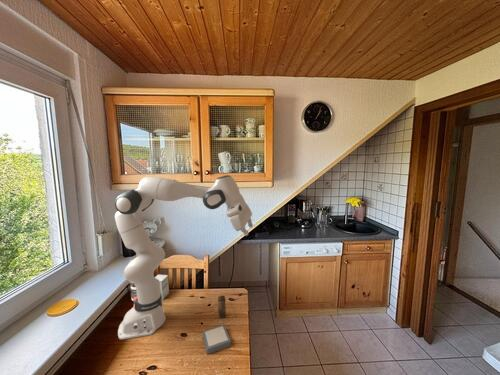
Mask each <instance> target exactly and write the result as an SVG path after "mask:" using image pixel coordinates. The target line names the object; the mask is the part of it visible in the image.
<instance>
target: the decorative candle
mask: <svg viewBox="0 0 500 375" xmlns="http://www.w3.org/2000/svg"><path fill="white" fill-rule="evenodd" d="M133 259H134V258H132V259H130V261H128V264H129V263H130V262H131V261H132V260H133ZM128 264H127V265H128ZM129 283H130V298H131V299H130V300H131V301H133V299H134V297H137V290H136V286H135V284H134V283H131V282H129Z"/></svg>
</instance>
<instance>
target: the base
mask: <svg viewBox="0 0 500 375" xmlns="http://www.w3.org/2000/svg"><path fill="white" fill-rule="evenodd" d="M201 333H202V339H203V343H204V347H205V351H206V355H211V354H213V353H215V352H219V351H220V350H224V349H227V348H230V347H231V346H232V342H231V338H230V336H229V334H228V331H227V329H226V325H225V324H222V325H218V326H215V327H213V328H209V329H206V330H203V331H202V332H201Z"/></svg>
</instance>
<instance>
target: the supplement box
mask: <svg viewBox="0 0 500 375" xmlns="http://www.w3.org/2000/svg"><path fill="white" fill-rule="evenodd" d="M154 278H157V279H158V280H159V282H160V293H161V295H162V301H163V300H164V299H165V298H167V296H168V295H169V294H170V287H169V275H168V274H157V275H156V276H154Z"/></svg>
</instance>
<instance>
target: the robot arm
mask: <svg viewBox="0 0 500 375" xmlns="http://www.w3.org/2000/svg"><path fill="white" fill-rule="evenodd" d="M184 198H199V199H202V202H203V205H204V206H205V207H206V208H207V209H208V210H209V209H210V210H216V209H219V208H220V207H221V206H222V205H223V204H225V205H226V216H227V217H228V218H229V221H230V223H231V224H232V227H233V229H234V230H235V231H236V232H239V231H240V232H241V233H243V235H244V236H245V237H247V236H248V235H249V231H248V230H247V229H246V225H247V224H248V225H247V226H248V228H249V229H250V228H253V226H254V224H253V223H252V218H251V217H252V215H253V212H252V211H251V208H250V207H249V205H248V203H246V200H245V198H244V196H243V195H242V194H241V192H240V188H239V185H238V184H237V182H236V180H235V179H234V178H233V177H232V176H231V175H229V174H226V175H223V176H219V177H217V178H216V179H215V181H214V182H213V184H212V186H205V185H204V186H203V185H195V184H190V183H185V182H182V181H178V180H174V179H171V178H165V177H161V176H159V177H158V176H145V177H143V178H142V179H141V180H140V181H139V183H138V187H137V188H135V189H129V190H127V191H125V192H122V193H121V194H119V195H118V196H116V198H115V199H114V208H115V209H116V212H115V214H114V221H115V224H116V228H117V230H118V233H119V235H120V237H121V240H122V242H123V244H124V246H125V248H126V249H127V250H131V251H132V250H133V251H134V252H135V254H136V255H137V256H136V257H134V258H132V259H133V260H132V259H131V260H132V261H131V262H130V261H129V262H130V263H129V262H128V263H129V264H127V265H126V266H125V267H124V270H123V275H124V278H125V280H126V281H127V282H129V283H130V282H131V283H134V284H135V286H136V290H137V297H134V299H133V307H131V309H129V310H128V311H127V312H126V313H125V315H124V316H123V320H122V321H121V322H120V324H119V326H118V329H117V336H118V339H119V340H127V339H133V338H139V337H145V336H151V335H153V334H154V333H155V332H156V330H158V329H159V328H161V326H163V325H164V323H165V322H166V321H167V320H166V319H167V317H166V315H165V312H164V308H163V300H162V295H161V293H160V282H159V280H158V279H157V278H155V276H154V272H155V270H156V269H157V268H158V267H159V266H160V265H162V263H163V262H164V260H165V258H166V251H165V250H164V248H163V247H161V246H159V245H157V244H155V243H154V242H153V241H152V240H151V238H150V236H149V235H148V232H147V231H146V228H145V226H144V224H143V222H142V219H141V217H140V216H141V212H144V211H145V210H147V209H148V208H150V207H151V206H152V204H154V202H155V200H158V201H164V202H175V201H178V200H181V199H184ZM131 283H130V284H131Z"/></svg>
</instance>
